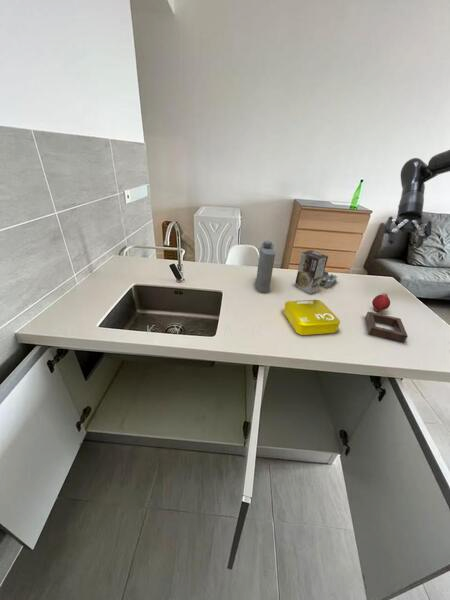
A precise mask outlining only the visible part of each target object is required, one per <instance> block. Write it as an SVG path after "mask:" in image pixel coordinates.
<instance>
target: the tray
mask: <svg viewBox="0 0 450 600" xmlns="http://www.w3.org/2000/svg"><path fill="white" fill-rule="evenodd" d="M364 319H365V325H366V329H367V335H369V336H373V337H377V338H381V339H384V340H385V339H386V340H388V341H394V342H398V343H402V344H405V342H406V341H407V338H408V333H407V331H406V329H405V326H404V324H403V321H402V318H400V317H396V316H391V315H386V314H382V313H377V312H372V311H367V313H366V315H365V317H364ZM376 323H377V324H380V325H386V326H389V327H393V329H389V328H384V327H381V326H377V325H376Z"/></svg>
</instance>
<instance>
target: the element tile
mask: <svg viewBox="0 0 450 600" xmlns="http://www.w3.org/2000/svg"><path fill="white" fill-rule="evenodd" d="M283 314H284V316H285V317H286V319H287V321H288V322H289V324H290V326H291V327H292V328H293V330H294V331H295V333H296V334H298V335H300V336H311V335H323V334H325V335H326V334H334V333H337V332H338V329H339V326H340V324H341V319H339V317H337V316H336V314H335V313H334V312H333V311H332V310H331V309H330V308H329V307H328V306H327V305H326V304H325V303H324V302H323V301H322V300H320V299H309V300H289V301H285V303H284V307H283Z"/></svg>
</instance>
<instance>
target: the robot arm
mask: <svg viewBox="0 0 450 600" xmlns="http://www.w3.org/2000/svg"><path fill="white" fill-rule="evenodd" d="M449 172H450V149H448V150H445V151H442V152H439V153H437V154H435V155H433V156H432V157H430V159H429V161H428V163H426V162H424V161H423V160H422V159H421V158H419V157H413V158H410V159H408V160H407V161H406V162H405V163H403V165H402V167H401V170H400V174H399V175H400V184H401V188H402V189H401V190H402V191H401V196H400V200H399V202H398V206H397V207H398V209H397V215H396V218H393V216H389V217H388V218H387V220H386V222H385V226H384V230H383V233H384V234H387V235H388V239H387V242H388V244H389V245H393V244H394V242H395V239H396V238H395V237H396V234H397V233H398V232H399V231H400V232H401V233H404V232H406V233H412V235H413V236H415V237H416V243H415V249H419V248H421V247H422V246H423V244H424V240H427V239H428V238H429V237H430V236H431V235H432V221H431V220H428V221H422V217H423V210H424V201H425V190H426V184H425V183H426V182H428V181H430V180H432V179H433V178H436V177H437V176H439V175H442V174H446V173H449ZM393 224H395V227H393V228H391V227H392V225H393Z"/></svg>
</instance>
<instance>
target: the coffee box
mask: <svg viewBox="0 0 450 600" xmlns="http://www.w3.org/2000/svg"><path fill="white" fill-rule="evenodd" d="M299 259H300V260H299V263H298V269H297V274H296V278H295V283H294V286H295V287H297V288H298V289H300V290H302V291H304V292H306V293H308V294H309V295H311V294H314V293H316V292H319V291H320V287H321V285H320V284H321V281H322V277H323V273H324V270H325V271H326V267H327V262H328V259H329V256H328V255H325V254H323V253H320V252H319V251H318V252H317V251H315V250H312V249H310V250H309V249H308V250H306V251H303V252H301V254H300V258H299Z"/></svg>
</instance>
